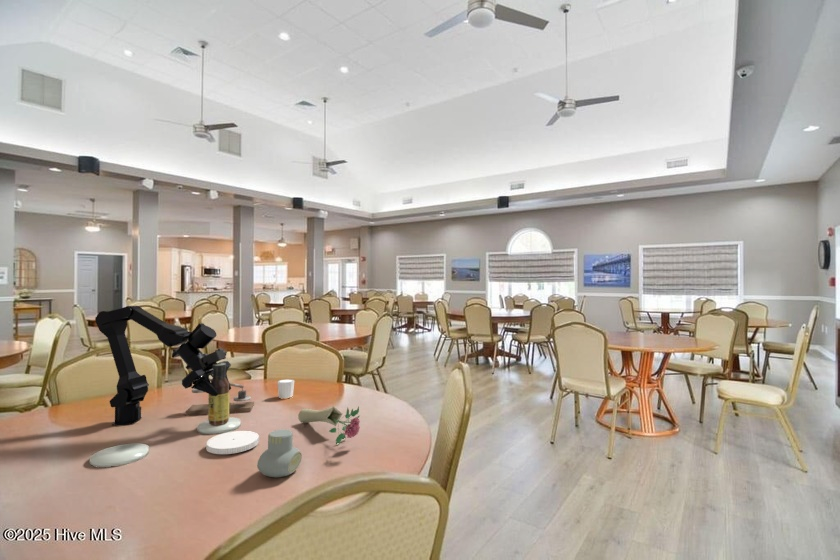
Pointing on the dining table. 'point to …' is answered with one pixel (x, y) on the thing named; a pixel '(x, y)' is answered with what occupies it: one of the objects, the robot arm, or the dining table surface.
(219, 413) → the sauce bottle
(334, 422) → the flower vase
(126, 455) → the dish left
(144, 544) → the dining table surface
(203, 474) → the dining table surface
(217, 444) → the plastic lid
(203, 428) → the dish right
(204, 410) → the balance scale
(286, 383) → the white short cylinder
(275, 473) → the air freshener
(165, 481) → the dining table surface
